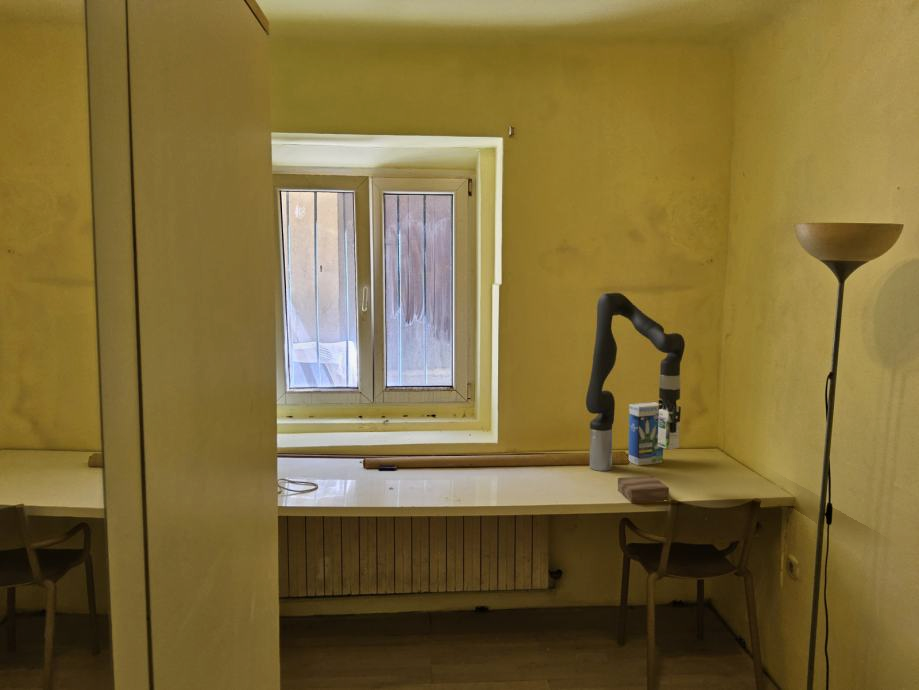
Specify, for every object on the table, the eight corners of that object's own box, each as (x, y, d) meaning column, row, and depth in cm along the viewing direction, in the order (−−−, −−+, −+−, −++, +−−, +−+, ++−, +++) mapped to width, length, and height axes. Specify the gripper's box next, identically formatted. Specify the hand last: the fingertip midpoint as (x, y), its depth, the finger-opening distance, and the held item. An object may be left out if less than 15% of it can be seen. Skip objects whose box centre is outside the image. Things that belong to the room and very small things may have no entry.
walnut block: (617, 490, 248) (618, 477, 247) (653, 488, 249) (653, 476, 249) (631, 503, 234) (631, 489, 233) (668, 501, 235) (668, 487, 235)
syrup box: (657, 446, 247) (657, 409, 246) (669, 444, 249) (670, 407, 248) (667, 450, 242) (667, 411, 240) (679, 448, 244) (680, 410, 242)
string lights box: (637, 466, 278) (638, 407, 276) (627, 461, 285) (628, 403, 283) (663, 462, 283) (664, 404, 280) (653, 458, 290) (653, 401, 287)
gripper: (652, 383, 250) (651, 426, 251) (668, 390, 235) (667, 435, 237) (670, 382, 251) (669, 425, 252) (688, 389, 236) (687, 434, 238)
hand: (668, 429), depth 245 cm, fingers closed on syrup box, 6 cm apart
